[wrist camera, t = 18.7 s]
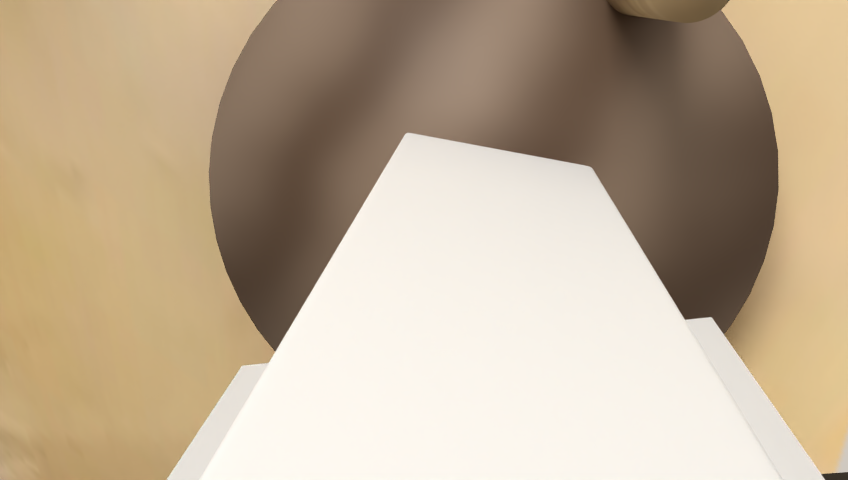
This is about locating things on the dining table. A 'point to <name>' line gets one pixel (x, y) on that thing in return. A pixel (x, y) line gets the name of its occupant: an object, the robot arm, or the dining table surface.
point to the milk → (489, 342)
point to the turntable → (495, 130)
